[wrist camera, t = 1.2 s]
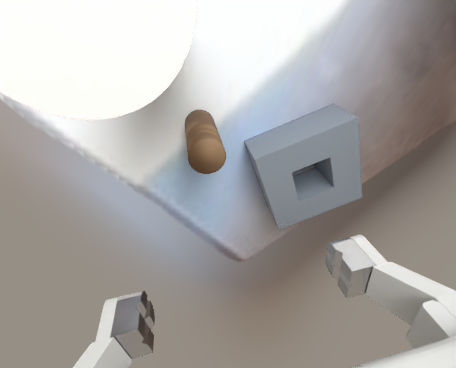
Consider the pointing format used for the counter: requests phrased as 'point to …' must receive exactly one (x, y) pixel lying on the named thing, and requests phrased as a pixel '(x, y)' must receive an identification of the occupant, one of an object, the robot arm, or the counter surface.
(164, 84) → the cylindrical container
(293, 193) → the socket block
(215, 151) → the walnut peg
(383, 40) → the counter surface
